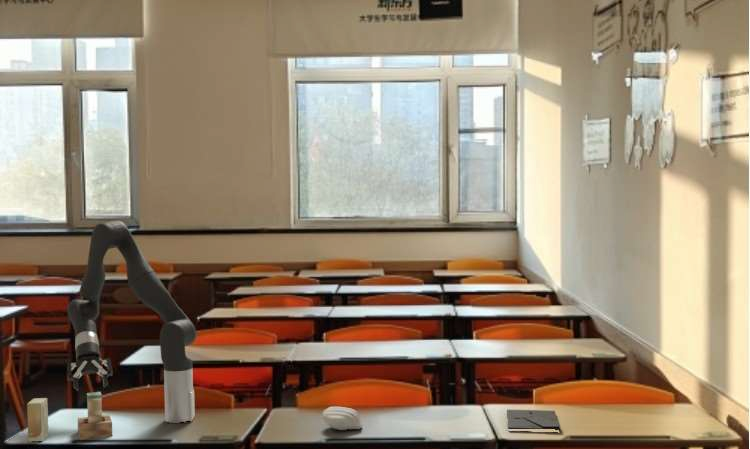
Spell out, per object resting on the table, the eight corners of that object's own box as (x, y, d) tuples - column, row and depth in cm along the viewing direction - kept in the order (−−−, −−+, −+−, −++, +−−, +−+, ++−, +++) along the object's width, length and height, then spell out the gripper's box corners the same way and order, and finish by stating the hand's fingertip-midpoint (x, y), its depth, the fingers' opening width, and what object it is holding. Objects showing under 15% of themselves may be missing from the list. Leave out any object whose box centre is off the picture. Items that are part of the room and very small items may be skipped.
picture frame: (560, 435, 245) (554, 416, 266) (560, 426, 245) (554, 408, 266) (508, 434, 248) (506, 415, 268) (508, 424, 247) (506, 407, 268)
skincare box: (34, 436, 250) (33, 397, 249) (49, 436, 250) (48, 397, 250) (27, 442, 243) (26, 403, 243) (42, 442, 244) (41, 402, 243)
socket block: (109, 428, 258) (108, 414, 258) (112, 435, 249) (112, 421, 249) (78, 431, 254) (77, 418, 254) (80, 440, 245) (79, 425, 245)
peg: (101, 429, 254) (100, 391, 254) (102, 432, 251) (101, 394, 250) (87, 431, 253) (86, 393, 252) (88, 434, 249) (87, 396, 249)
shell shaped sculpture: (313, 429, 253) (313, 409, 253) (342, 421, 262) (341, 401, 262) (342, 437, 244) (342, 416, 244) (370, 428, 253) (370, 408, 253)
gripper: (65, 343, 268) (68, 383, 257) (109, 339, 273) (114, 378, 263) (65, 356, 273) (68, 396, 262) (108, 351, 278) (113, 391, 268)
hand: (91, 387), depth 263 cm, fingers open, 8 cm apart
